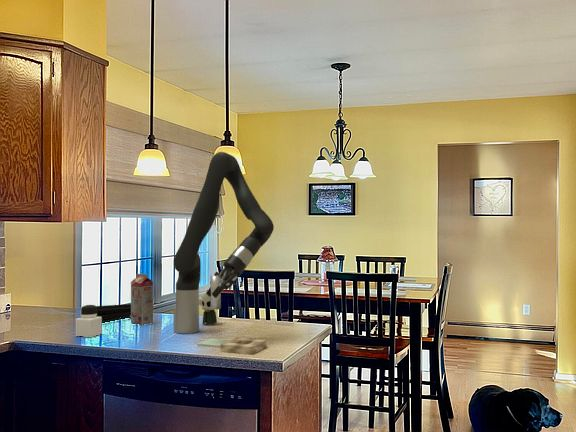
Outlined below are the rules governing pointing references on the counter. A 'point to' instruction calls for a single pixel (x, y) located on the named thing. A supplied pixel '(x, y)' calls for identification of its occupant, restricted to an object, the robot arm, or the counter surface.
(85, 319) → the medicine bottle
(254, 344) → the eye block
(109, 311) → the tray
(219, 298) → the peg
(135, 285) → the juice carton
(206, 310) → the big headed toy figurine
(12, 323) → the counter surface
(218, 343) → the mat
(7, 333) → the counter surface
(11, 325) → the counter surface
